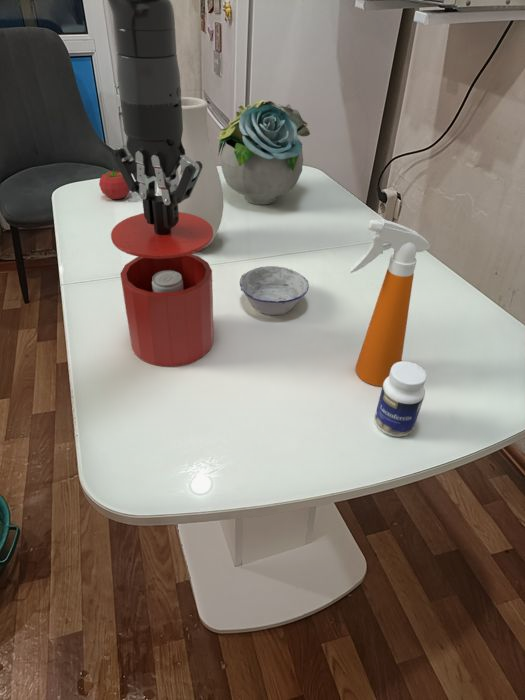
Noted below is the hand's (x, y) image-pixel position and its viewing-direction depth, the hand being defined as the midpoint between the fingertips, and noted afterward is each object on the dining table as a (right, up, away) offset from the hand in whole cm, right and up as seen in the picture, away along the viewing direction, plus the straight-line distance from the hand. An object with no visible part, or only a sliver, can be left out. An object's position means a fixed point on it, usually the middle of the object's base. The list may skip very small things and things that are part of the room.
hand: (162, 224), depth 74 cm
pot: (-1, -17, +13) cm, 21 cm away
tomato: (-24, +22, +61) cm, 69 cm away
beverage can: (-1, -17, +13) cm, 21 cm away
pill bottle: (+34, -29, 0) cm, 45 cm away
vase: (-1, +5, +41) cm, 42 cm away
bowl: (+17, -10, +24) cm, 31 cm away
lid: (0, -1, +1) cm, 2 cm away
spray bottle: (+31, -22, +9) cm, 39 cm away
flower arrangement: (+14, +22, +64) cm, 69 cm away
